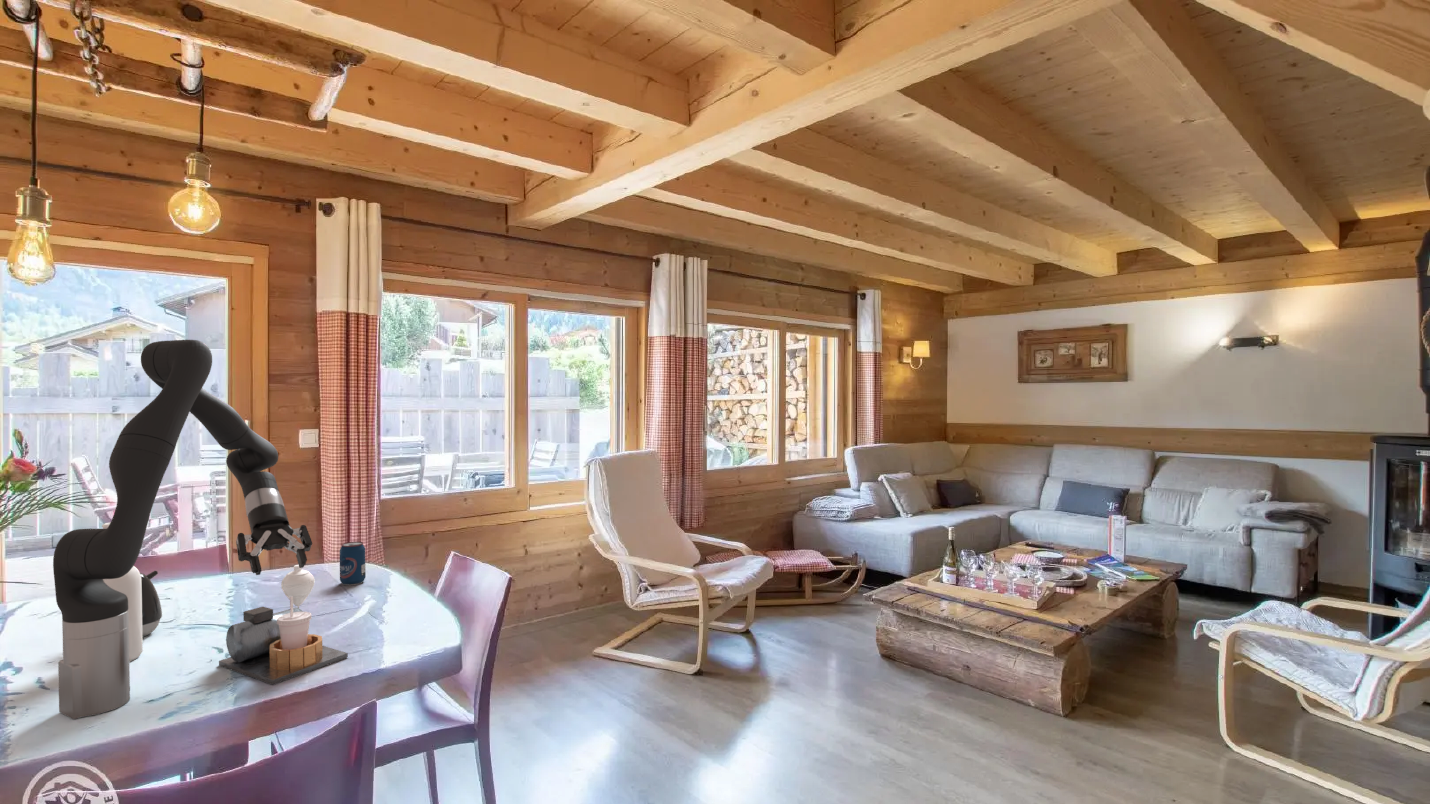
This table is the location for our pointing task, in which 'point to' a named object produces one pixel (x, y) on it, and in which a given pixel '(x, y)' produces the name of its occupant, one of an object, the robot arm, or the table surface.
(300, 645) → the smoothie
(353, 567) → the soda can
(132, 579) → the alcohol
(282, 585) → the spinning top
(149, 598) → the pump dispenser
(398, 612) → the table surface
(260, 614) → the motor
